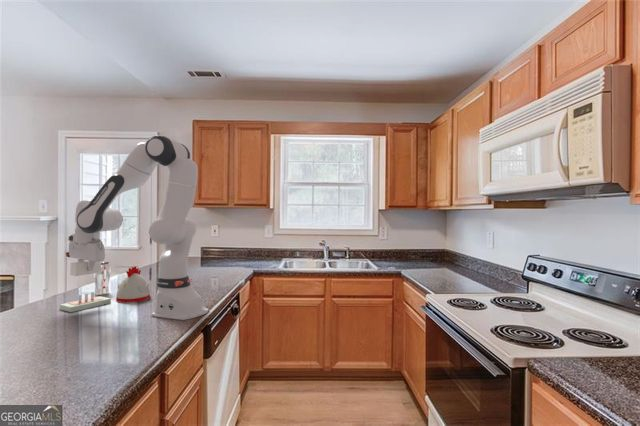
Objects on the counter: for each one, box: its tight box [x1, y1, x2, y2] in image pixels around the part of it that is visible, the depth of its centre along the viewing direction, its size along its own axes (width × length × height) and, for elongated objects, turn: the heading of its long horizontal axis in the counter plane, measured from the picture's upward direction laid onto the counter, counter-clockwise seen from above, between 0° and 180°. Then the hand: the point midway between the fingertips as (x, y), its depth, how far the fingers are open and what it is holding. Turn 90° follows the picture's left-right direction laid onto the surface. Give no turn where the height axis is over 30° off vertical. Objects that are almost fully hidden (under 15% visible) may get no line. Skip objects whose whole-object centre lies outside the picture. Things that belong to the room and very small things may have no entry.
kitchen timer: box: [115, 266, 151, 303], centre depth 158 cm, size 14×14×15 cm
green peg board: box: [59, 291, 112, 313], centre depth 144 cm, size 8×16×5 cm, turn 154°
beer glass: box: [93, 261, 112, 296], centre depth 165 cm, size 7×7×15 cm
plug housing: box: [69, 260, 109, 277], centre depth 146 cm, size 4×14×5 cm, turn 154°
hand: (86, 270), depth 144 cm, fingers closed on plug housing, 4 cm apart
